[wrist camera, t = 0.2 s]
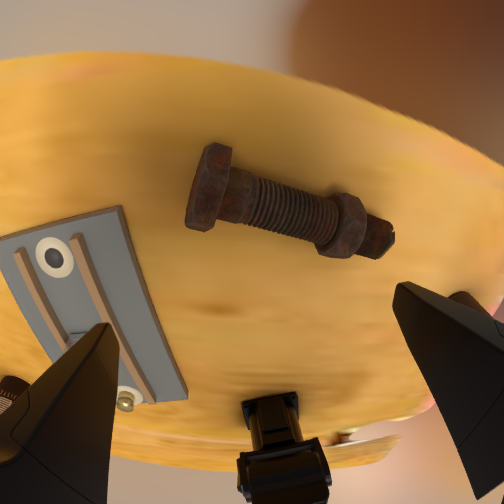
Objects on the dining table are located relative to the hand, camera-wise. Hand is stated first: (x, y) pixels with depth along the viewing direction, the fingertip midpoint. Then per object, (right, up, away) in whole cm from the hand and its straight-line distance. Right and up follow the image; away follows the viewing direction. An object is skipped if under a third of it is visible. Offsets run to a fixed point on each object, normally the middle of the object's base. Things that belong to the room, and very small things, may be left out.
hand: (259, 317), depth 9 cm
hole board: (-15, -5, +17) cm, 23 cm away
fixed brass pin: (-13, -13, +20) cm, 28 cm away
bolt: (+3, +5, +14) cm, 16 cm away
